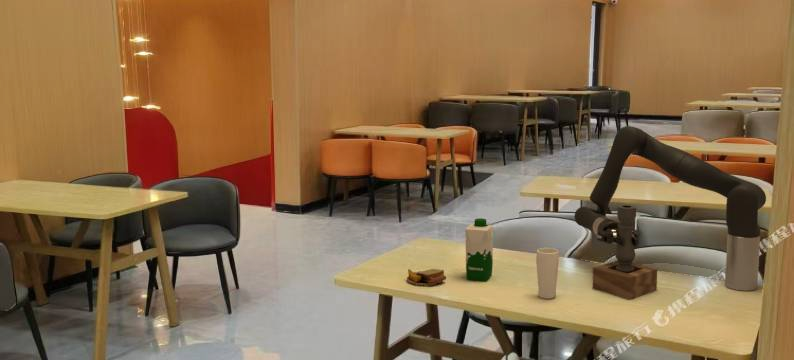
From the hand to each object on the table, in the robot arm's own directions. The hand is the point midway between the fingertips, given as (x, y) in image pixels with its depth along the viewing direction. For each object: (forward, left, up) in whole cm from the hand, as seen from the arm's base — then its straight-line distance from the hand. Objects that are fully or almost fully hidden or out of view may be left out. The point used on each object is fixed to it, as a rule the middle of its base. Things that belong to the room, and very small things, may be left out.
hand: (629, 242), depth 217 cm
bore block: (-1, -2, -16) cm, 16 cm away
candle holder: (-1, -3, -14) cm, 14 cm away
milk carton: (+26, -41, -16) cm, 51 cm away
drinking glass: (+23, -13, -16) cm, 31 cm away
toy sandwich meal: (+41, -51, -17) cm, 67 cm away
